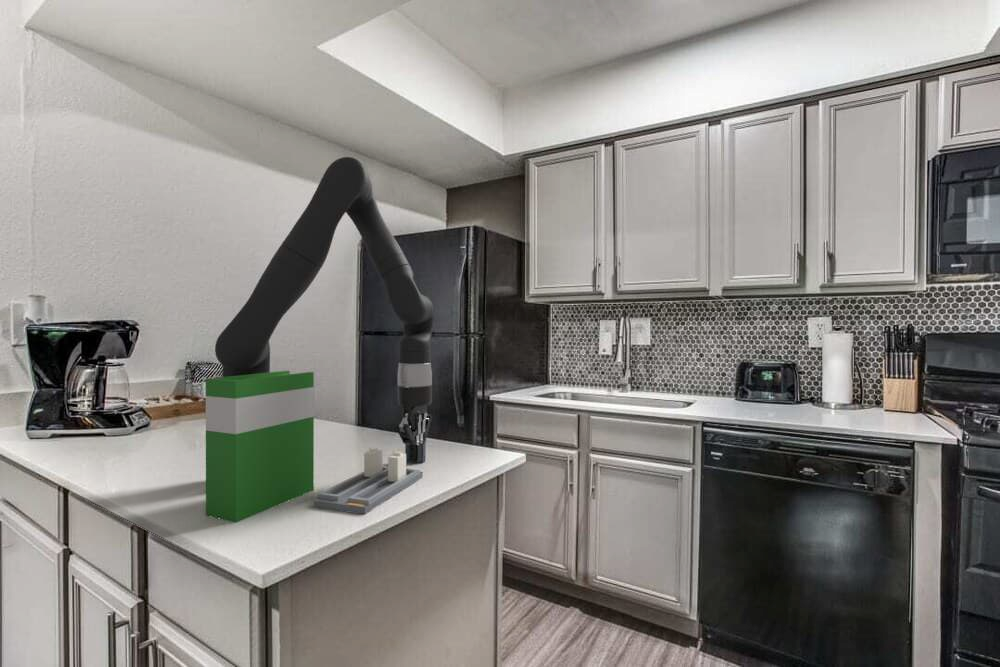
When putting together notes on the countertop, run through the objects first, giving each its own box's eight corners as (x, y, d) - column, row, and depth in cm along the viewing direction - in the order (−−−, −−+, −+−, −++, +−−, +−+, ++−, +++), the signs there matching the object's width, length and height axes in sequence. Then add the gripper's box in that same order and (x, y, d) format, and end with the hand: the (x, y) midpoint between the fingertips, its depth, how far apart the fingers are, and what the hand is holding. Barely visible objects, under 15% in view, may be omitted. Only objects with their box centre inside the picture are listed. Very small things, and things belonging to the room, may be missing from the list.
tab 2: (388, 481, 99) (388, 454, 99) (396, 476, 103) (396, 449, 103) (397, 482, 99) (397, 455, 99) (406, 477, 102) (406, 450, 102)
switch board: (313, 506, 89) (313, 495, 89) (378, 472, 110) (378, 464, 110) (365, 514, 86) (365, 502, 86) (422, 477, 107) (422, 468, 107)
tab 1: (364, 476, 103) (364, 450, 102) (373, 471, 106) (373, 446, 106) (373, 477, 102) (373, 450, 102) (382, 472, 105) (382, 447, 105)
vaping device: (424, 463, 118) (424, 414, 118) (403, 462, 119) (403, 413, 119) (427, 460, 120) (427, 412, 120) (407, 459, 121) (407, 411, 121)
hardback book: (286, 485, 101) (286, 370, 101) (313, 490, 98) (313, 372, 98) (205, 515, 85) (205, 378, 84) (235, 522, 82) (235, 380, 82)
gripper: (413, 379, 115) (414, 452, 115) (384, 386, 103) (384, 467, 103) (442, 380, 113) (442, 454, 113) (415, 387, 100) (416, 470, 100)
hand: (415, 460), depth 108 cm, fingers closed
